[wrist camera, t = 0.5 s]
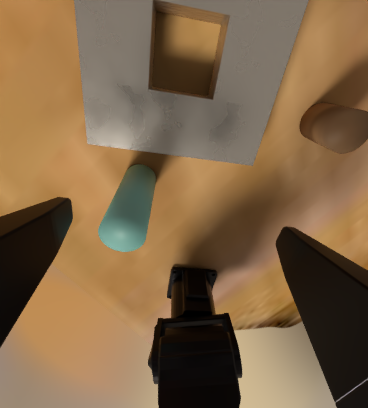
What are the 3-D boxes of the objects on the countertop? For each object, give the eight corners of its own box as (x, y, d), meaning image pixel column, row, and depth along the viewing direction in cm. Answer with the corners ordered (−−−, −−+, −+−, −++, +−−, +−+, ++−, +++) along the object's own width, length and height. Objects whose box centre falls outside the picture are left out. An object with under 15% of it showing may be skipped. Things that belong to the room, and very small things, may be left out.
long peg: (154, 193, 23) (144, 253, 15) (125, 190, 23) (99, 249, 15) (157, 166, 21) (147, 218, 14) (125, 162, 21) (96, 213, 13)
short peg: (324, 140, 21) (357, 155, 17) (294, 136, 20) (320, 150, 17) (341, 105, 19) (382, 113, 15) (309, 99, 19) (342, 106, 15)
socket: (243, 154, 21) (252, 165, 18) (98, 134, 20) (87, 143, 17) (305, -52, 14) (335, -81, 11) (83, -109, 12) (59, -157, 10)
